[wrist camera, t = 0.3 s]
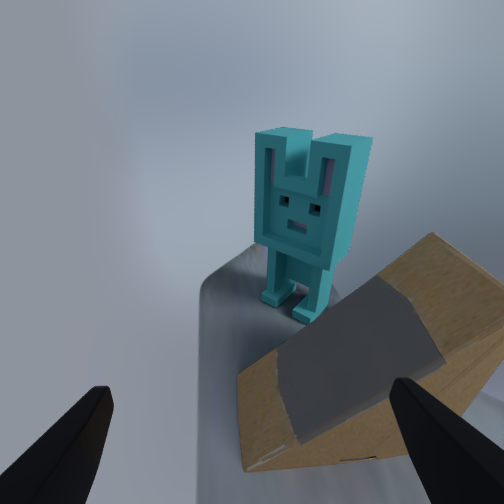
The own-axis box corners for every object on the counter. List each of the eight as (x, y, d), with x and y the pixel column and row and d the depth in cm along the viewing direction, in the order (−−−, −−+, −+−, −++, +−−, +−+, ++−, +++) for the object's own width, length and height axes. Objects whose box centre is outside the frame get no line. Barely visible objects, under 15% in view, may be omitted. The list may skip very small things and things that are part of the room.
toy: (253, 296, 37) (255, 132, 27) (278, 275, 41) (289, 125, 31) (318, 330, 32) (351, 145, 22) (340, 303, 36) (377, 135, 26)
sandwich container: (234, 372, 28) (228, 238, 20) (383, 359, 29) (432, 228, 21) (240, 477, 21) (234, 330, 13) (438, 453, 22) (543, 307, 14)
